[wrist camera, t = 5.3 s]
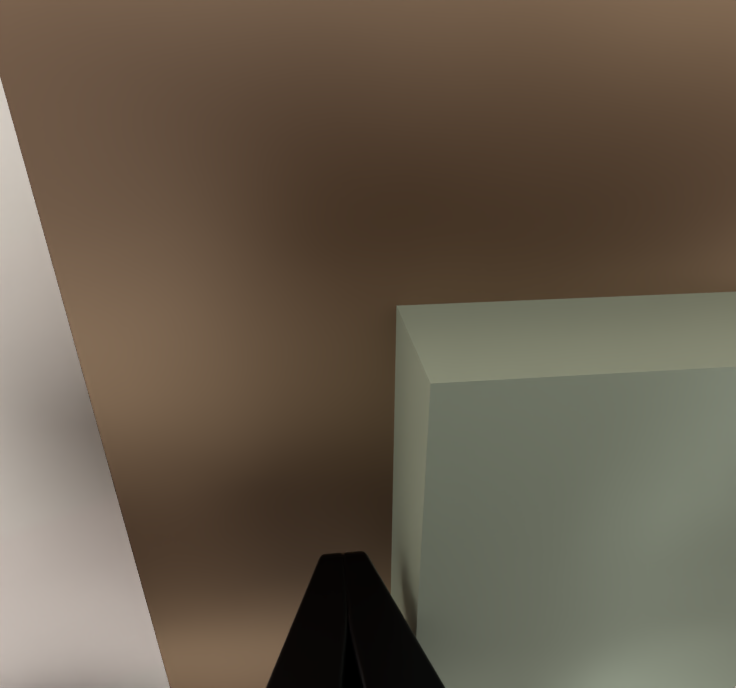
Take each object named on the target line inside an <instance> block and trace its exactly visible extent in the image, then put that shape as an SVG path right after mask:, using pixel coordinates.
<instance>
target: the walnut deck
mask: <svg viewBox="0 0 736 688" xmlns="http://www.w3.org/2000/svg"><path fill="white" fill-rule="evenodd" d="M0 77H1V81H2V84H3V88H4V92H5V95H6V99H7V102H8V106H9V110H10V113H11V117H12V120H13V124H14V128H15V131H16V135H17V138H18V142H19V146H20V149H21V153H22V156H23V160H24V164H25V167H26V171H27V174H28V178H29V182H30V185H31V189H32V192H33V196H34V199H35V203H36V207H37V210H38V214H39V217H40V221H41V225H42V228H43V232H44V235H45V239H46V243H47V246H48V250H49V253H50V257H51V261H52V264H53V268H54V271H55V275H56V279H57V282H58V286H59V289H60V293H61V297H62V300H63V304H64V307H65V311H66V315H67V318H68V322H69V325H70V329H71V333H72V336H73V340H74V343H75V347H76V350H77V354H78V358H79V361H80V365H81V368H82V372H83V376H84V379H85V383H86V386H87V390H88V394H89V397H90V401H91V404H92V408H93V412H94V415H95V419H96V422H97V426H98V430H99V433H100V437H101V440H102V444H103V448H104V451H105V455H106V458H107V462H108V466H109V469H110V473H111V476H112V480H113V484H114V487H115V491H116V494H117V498H118V502H119V505H120V509H121V512H122V516H123V519H124V523H125V527H126V530H127V534H128V537H129V541H130V545H131V548H132V552H133V555H134V559H135V563H136V566H137V570H138V573H139V577H140V581H141V584H142V588H143V591H144V595H145V599H146V602H147V606H148V609H149V613H150V617H151V620H152V624H153V627H154V631H155V635H156V638H157V642H158V645H159V649H160V653H161V656H162V660H163V663H164V667H165V670H166V674H167V678H168V681H169V685H170V688H266V686H267V683H268V681H269V679H270V676H271V674H272V671H273V669H274V667H275V664H276V662H277V659H278V657H279V654H280V652H281V650H282V647H283V645H284V642H285V640H286V637H287V635H288V633H289V630H290V628H291V625H292V623H293V620H294V618H295V616H296V613H297V611H298V608H299V606H300V603H301V601H302V599H303V596H304V594H305V591H306V589H307V587H308V584H309V582H310V579H311V577H312V574H313V572H314V570H315V567H316V565H317V562H318V560H319V558H320V556H321V555H323V554H329V553H342V554H344V553H345V552H354V551H364V552H365V553H366V554H367V555H368V557H369V558H370V560H371V562H372V563H373V565H374V567H375V569H376V570H377V572H378V574H379V575H380V577H381V579H382V580H383V582H384V584H385V586H386V587H387V589H388V591H389V592H390V594H391V557H392V507H393V457H394V407H395V357H396V307H397V306H400V305H424V304H448V303H472V302H496V301H520V300H545V299H569V298H593V297H617V296H641V295H665V294H689V293H714V292H736V0H0Z"/></svg>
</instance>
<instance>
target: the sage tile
mask: <svg viewBox="0 0 736 688" xmlns="http://www.w3.org/2000/svg"><path fill="white" fill-rule="evenodd" d="M391 596H392V597H393V599H394V601H395V603H396V604H397V606H398V608H399V609H400V611H401V613H402V615H403V616H404V618H405V620H406V621H407V623H408V625H409V626H410V628H411V630H412V632H413V633H414V635H415V637H416V638H417V640H418V642H419V644H420V645H421V647H422V649H423V650H424V652H425V654H426V655H427V657H428V659H429V661H430V662H431V664H432V666H433V667H434V669H435V671H436V673H437V674H438V676H439V678H440V679H441V681H442V683H443V684H444V686H445V688H735V686H736V292H714V293H689V294H665V295H641V296H617V297H593V298H569V299H545V300H520V301H496V302H472V303H448V304H424V305H400V306H397V307H396V357H395V407H394V457H393V507H392V557H391Z"/></svg>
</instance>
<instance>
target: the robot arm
mask: <svg viewBox="0 0 736 688" xmlns="http://www.w3.org/2000/svg"><path fill="white" fill-rule="evenodd" d="M266 688H445V686H444V684H443V683H442V681H441V679H440V678H439V676H438V674H437V673H436V671H435V669H434V667H433V666H432V664H431V662H430V661H429V659H428V657H427V655H426V654H425V652H424V650H423V649H422V647H421V645H420V644H419V642H418V640H417V638H416V637H415V635H414V633H413V632H412V630H411V628H410V626H409V625H408V623H407V621H406V620H405V618H404V616H403V615H402V613H401V611H400V609H399V608H398V606H397V604H396V603H395V601H394V599H393V597H392V596H391V594H390V592H389V591H388V589H387V587H386V586H385V584H384V582H383V580H382V579H381V577H380V575H379V574H378V572H377V570H376V569H375V567H374V565H373V563H372V562H371V560H370V558H369V557H368V555H367V554H366V553H365V552H364V551H354V552H345V553H344V554H342V553H329V554H323V555H321V556H320V558H319V560H318V562H317V565H316V567H315V570H314V572H313V574H312V577H311V579H310V582H309V584H308V587H307V589H306V591H305V594H304V596H303V599H302V601H301V603H300V606H299V608H298V611H297V613H296V616H295V618H294V620H293V623H292V625H291V628H290V630H289V633H288V635H287V637H286V640H285V642H284V645H283V647H282V650H281V652H280V654H279V657H278V659H277V662H276V664H275V667H274V669H273V671H272V674H271V676H270V679H269V681H268V683H267V686H266Z"/></svg>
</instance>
